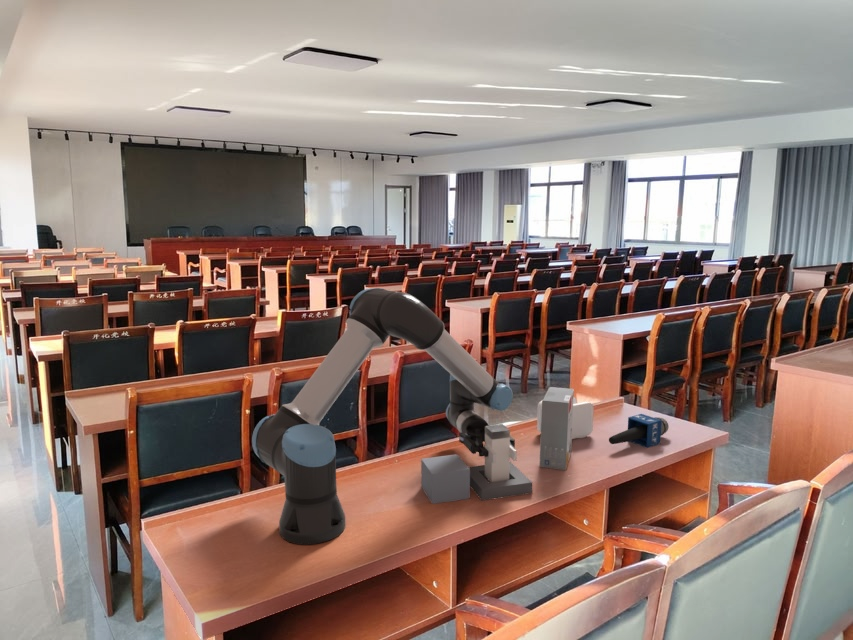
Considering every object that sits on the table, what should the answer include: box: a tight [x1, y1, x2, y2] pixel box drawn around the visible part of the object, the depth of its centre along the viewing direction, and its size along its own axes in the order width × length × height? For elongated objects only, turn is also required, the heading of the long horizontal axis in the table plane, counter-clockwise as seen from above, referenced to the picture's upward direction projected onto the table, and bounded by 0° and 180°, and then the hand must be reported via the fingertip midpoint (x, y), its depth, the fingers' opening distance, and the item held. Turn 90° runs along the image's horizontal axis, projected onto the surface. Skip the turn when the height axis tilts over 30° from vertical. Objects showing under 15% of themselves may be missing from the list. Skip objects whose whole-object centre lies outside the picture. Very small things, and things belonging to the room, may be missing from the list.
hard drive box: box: [538, 386, 575, 471], centre depth 179 cm, size 16×8×20 cm, turn 161°
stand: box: [420, 453, 471, 505], centre depth 159 cm, size 10×10×8 cm
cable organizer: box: [536, 396, 594, 440], centre depth 199 cm, size 15×11×12 cm
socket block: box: [468, 461, 533, 501], centre depth 163 cm, size 14×14×3 cm
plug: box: [484, 423, 511, 482], centre depth 162 cm, size 5×5×14 cm
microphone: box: [608, 413, 669, 449], centre depth 191 cm, size 8×8×25 cm
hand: (505, 457), depth 157 cm, fingers closed on plug, 5 cm apart
